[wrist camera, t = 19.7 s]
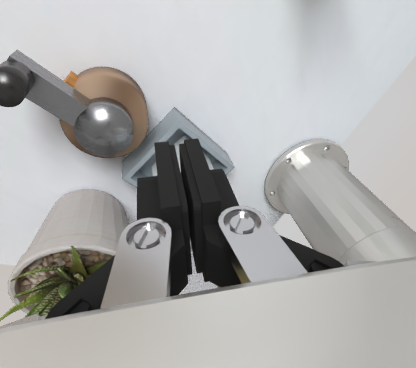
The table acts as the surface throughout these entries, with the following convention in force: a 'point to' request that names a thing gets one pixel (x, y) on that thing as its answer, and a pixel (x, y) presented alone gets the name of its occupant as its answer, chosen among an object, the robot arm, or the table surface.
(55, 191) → the table surface
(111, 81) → the crank pedestal
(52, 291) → the potted plant
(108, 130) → the crank
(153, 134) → the tray
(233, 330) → the robot arm
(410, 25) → the table surface
